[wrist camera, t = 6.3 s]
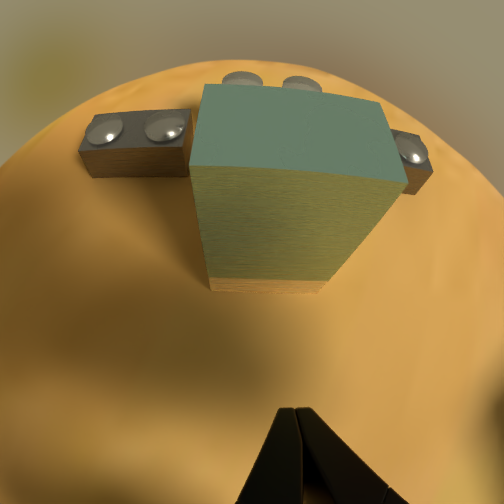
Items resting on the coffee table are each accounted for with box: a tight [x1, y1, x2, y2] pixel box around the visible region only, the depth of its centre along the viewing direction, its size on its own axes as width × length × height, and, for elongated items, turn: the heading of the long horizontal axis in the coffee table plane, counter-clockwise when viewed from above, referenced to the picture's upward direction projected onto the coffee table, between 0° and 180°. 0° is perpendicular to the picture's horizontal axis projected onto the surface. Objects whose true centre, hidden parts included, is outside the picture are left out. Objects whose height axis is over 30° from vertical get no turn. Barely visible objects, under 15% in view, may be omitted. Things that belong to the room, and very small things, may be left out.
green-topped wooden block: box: [189, 71, 409, 294], centre depth 13 cm, size 12×5×9 cm, turn 179°
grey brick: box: [78, 109, 433, 195], centre depth 16 cm, size 3×20×3 cm, turn 89°
